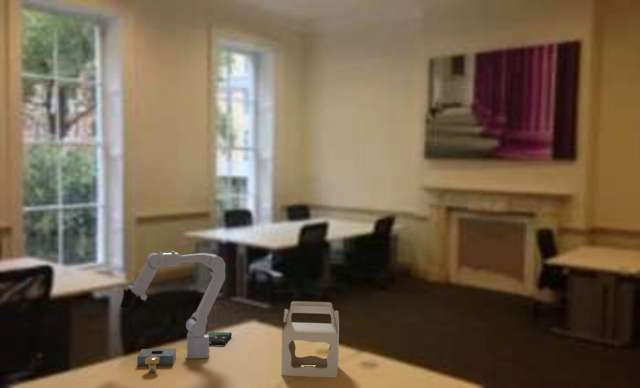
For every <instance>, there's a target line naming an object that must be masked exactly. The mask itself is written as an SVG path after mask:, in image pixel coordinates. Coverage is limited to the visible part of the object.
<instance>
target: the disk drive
mask: <svg viewBox="0 0 640 388" xmlns="http://www.w3.org/2000/svg"><path fill="white" fill-rule="evenodd" d="M207 335H209V346H211V345H223V346H222V347H225V346H226V344H227V343H228V342H229V341H230V340H231V339H230V338H232V337H231V336H232V335H233V334H232V332H225V331H220V332H215V331H212V332H210V333H208V334H207ZM228 340H229V341H228ZM227 341H228V342H227ZM226 342H227V343H226ZM225 343H226V344H225Z"/></svg>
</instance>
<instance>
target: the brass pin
mask: <svg viewBox="0 0 640 388" xmlns="http://www.w3.org/2000/svg"><path fill="white" fill-rule="evenodd" d="M158 363H160V358H159V357H156V356H152V357H147V358H145V364H148V365H149V366H148V373H149V374H155V373H156V372H157V366H156V364H158Z"/></svg>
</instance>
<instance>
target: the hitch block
mask: <svg viewBox="0 0 640 388" xmlns="http://www.w3.org/2000/svg"><path fill="white" fill-rule="evenodd" d="M152 356H156V357H159V358H160V363H158V364H156V367H168V366H169V367H170V366H171V367H173V366H174V364H175V361H176V357H177V349H176V348H142V349H141V350H140V352H139V353H138V354H137V358H136V359H137V361H136V362H137V363H136V364H137V365H136V366H137V367H149V365H148V364H145V358H147V357H152Z"/></svg>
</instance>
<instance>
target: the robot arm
mask: <svg viewBox="0 0 640 388" xmlns="http://www.w3.org/2000/svg"><path fill="white" fill-rule="evenodd" d="M225 262H226V261H224V259H223V257H222V256H218V255H216V254H215V253H208V252H202V253H201V252H200V253H199V252H198V253H193V254H192V253H190V254H180V253H179V252H175V250H171V251H170V252H162V251H160V252H159V253H156V252H152V253H150V254H148V255H147V256H146V257H145V264H144V265H143V267H142V268H141V269H140V272H139V273H138V275H137V277H136V279H135V280H134V282H133V284H132V285H131V284H128V285H127V287H126V289H125V288H124V289H123V291H122V293H123V294H122V295H123V296H122V298H121V299H122V300H121V303H120V308H121V309H123V310H124V309H127V307H128V306H129V304H130V303H131V304H130V307H129V309H128V314H129V315H134V314H136V312H137V311H138V310H139V309H140V308H141V307H142V306H144V305H146V303H147V298H148V295H147V294H146V292H147V289H148V288H149V286H150V285H151V283H152V280H153V279H154V277H155V276H156V274H157V271H158V270H159V269H160V268H167V267H179V266H180V264H183V263H185V264H187V263H190V264H191V263H200V264H203V265H204V266H205V267H206V268H207V269H208V271H209V272H210V275H211V280H210V282H209V284H208V286H207V288H206V290H205V292H204V295H203V296H202V299H201V301H200V302H199V305H198V306H197V309H196V310H195V311H194V312H193V313H192V315H191V317H190V318H188V319H187V321H186V322H185V328H186V330H187V331H188V332H187V334H186V354H185V357H184V359H186V360H187V359H209V354H210V352H211V351H210V345H209V335H208V334H205V333H206V329H207V328H206V327H207V324H208V316H209V314H210V312H211V309H212V307H213V306H214V303H215V302H216V299H217V297H218V294H219V293H220V290H221V289H222V286H223V284H224V283H225V280H226V263H225Z"/></svg>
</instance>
